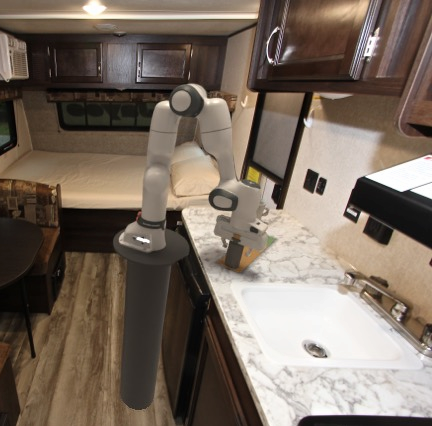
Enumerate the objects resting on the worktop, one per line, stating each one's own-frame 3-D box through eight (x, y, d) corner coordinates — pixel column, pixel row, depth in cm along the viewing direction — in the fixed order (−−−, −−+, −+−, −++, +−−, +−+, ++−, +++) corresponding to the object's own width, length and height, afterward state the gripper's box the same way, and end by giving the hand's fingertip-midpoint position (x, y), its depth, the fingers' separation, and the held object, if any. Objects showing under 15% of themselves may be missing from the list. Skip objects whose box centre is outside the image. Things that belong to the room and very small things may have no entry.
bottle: (221, 263, 122) (228, 232, 116) (228, 258, 126) (235, 228, 120) (234, 270, 118) (242, 238, 112) (241, 265, 122) (249, 233, 116)
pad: (268, 246, 137) (268, 246, 137) (247, 238, 143) (247, 238, 143) (276, 239, 143) (276, 238, 143) (255, 231, 149) (255, 231, 149)
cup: (253, 217, 166) (258, 197, 161) (267, 223, 158) (272, 203, 153) (239, 219, 162) (244, 199, 157) (252, 227, 154) (258, 206, 149)
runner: (239, 273, 117) (239, 273, 117) (216, 262, 123) (216, 262, 123) (268, 246, 137) (268, 246, 137) (247, 238, 143) (247, 238, 143)
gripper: (213, 215, 118) (208, 244, 124) (266, 232, 105) (257, 264, 111) (221, 210, 122) (215, 239, 128) (272, 227, 109) (264, 258, 115)
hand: (235, 251), depth 119 cm, fingers open, 8 cm apart
